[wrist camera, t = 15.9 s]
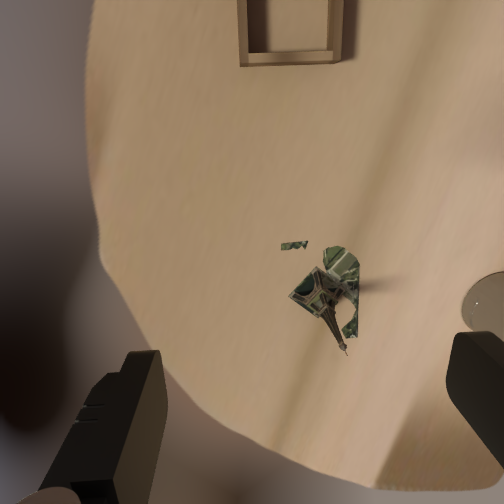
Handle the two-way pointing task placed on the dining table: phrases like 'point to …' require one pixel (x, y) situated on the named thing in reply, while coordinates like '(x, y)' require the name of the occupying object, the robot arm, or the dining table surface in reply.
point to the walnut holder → (293, 57)
